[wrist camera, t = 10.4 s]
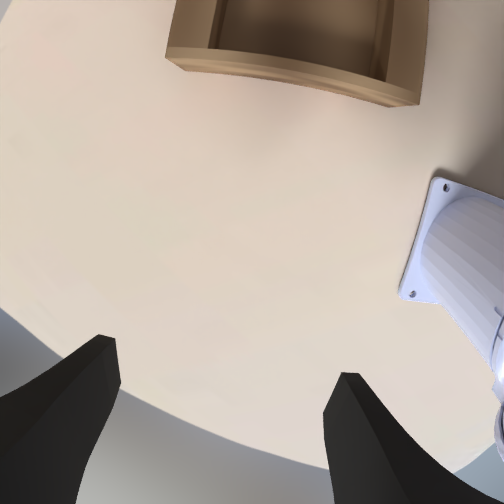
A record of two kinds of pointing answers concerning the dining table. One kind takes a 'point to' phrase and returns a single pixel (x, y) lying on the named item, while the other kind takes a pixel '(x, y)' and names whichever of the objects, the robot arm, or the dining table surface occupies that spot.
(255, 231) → the dining table surface
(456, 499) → the robot arm
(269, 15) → the keyhole board
